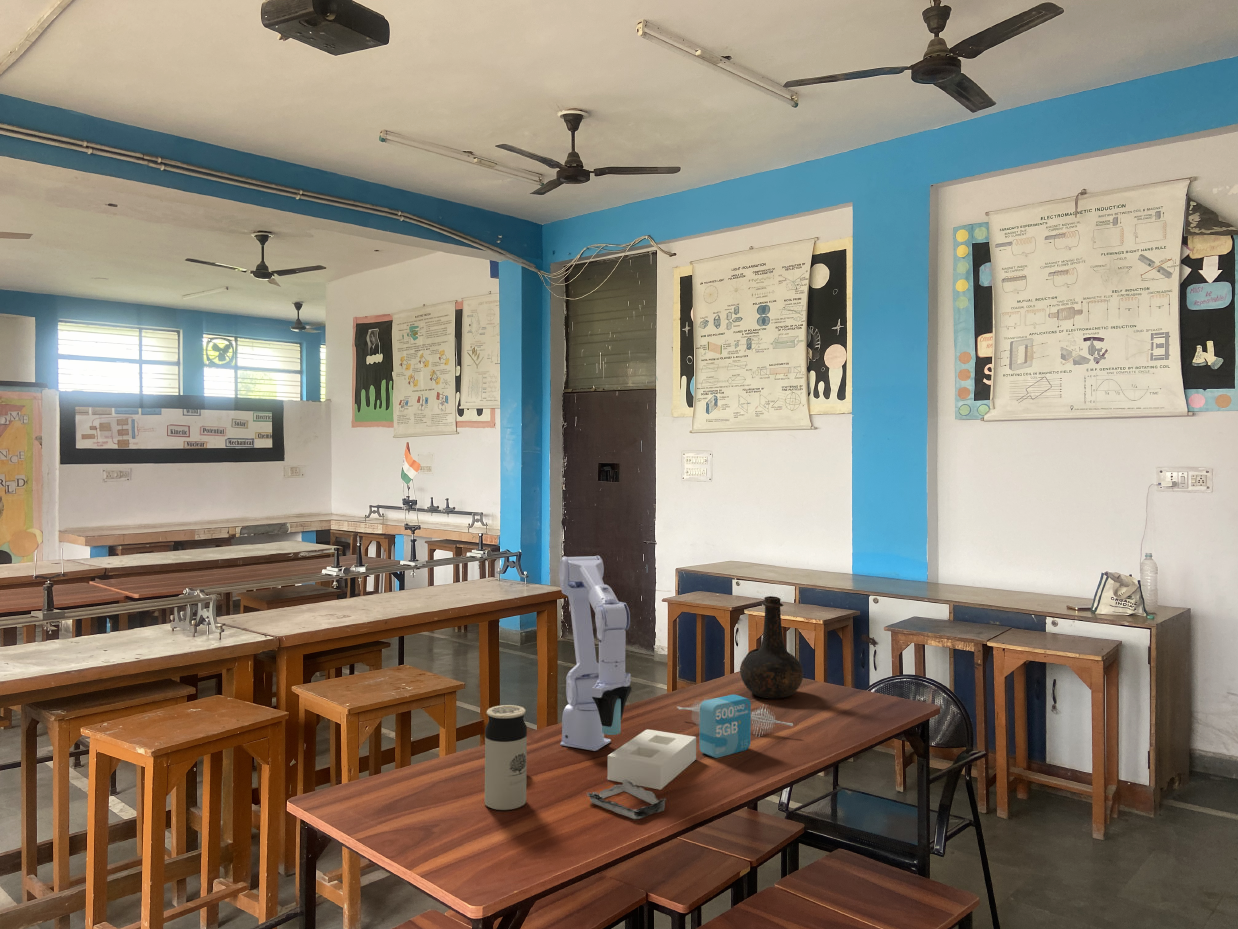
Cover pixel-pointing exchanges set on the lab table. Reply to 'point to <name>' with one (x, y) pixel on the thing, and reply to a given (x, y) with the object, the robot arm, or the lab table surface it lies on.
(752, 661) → the glass bottle
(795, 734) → the lab table surface
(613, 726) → the pin
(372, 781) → the lab table surface
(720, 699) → the data package
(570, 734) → the robot arm
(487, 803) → the travel mug
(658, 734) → the hole board
